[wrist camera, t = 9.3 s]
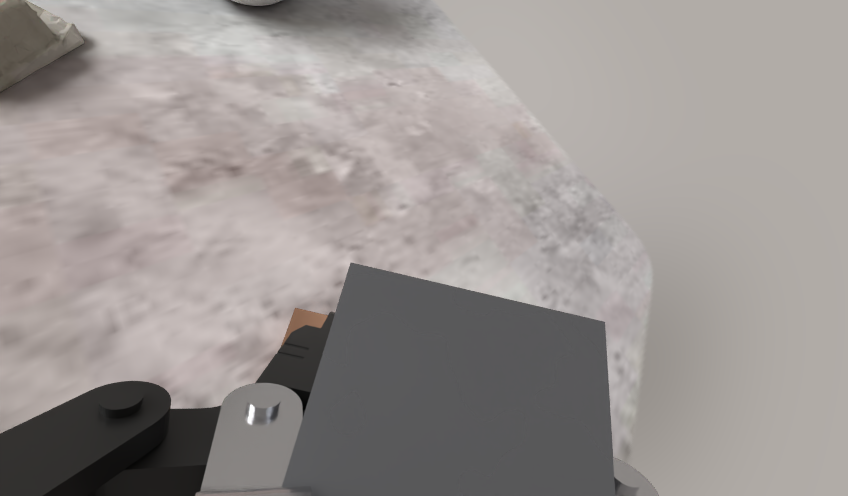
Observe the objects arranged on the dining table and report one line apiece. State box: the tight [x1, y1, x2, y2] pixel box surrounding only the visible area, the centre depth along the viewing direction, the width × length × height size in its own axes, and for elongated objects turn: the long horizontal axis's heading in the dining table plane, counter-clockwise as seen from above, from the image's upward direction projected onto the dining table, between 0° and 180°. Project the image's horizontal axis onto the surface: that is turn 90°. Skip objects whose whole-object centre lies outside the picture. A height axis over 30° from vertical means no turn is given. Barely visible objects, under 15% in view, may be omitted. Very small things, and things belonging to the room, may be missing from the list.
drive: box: [282, 263, 615, 496], centre depth 10 cm, size 4×4×9 cm
